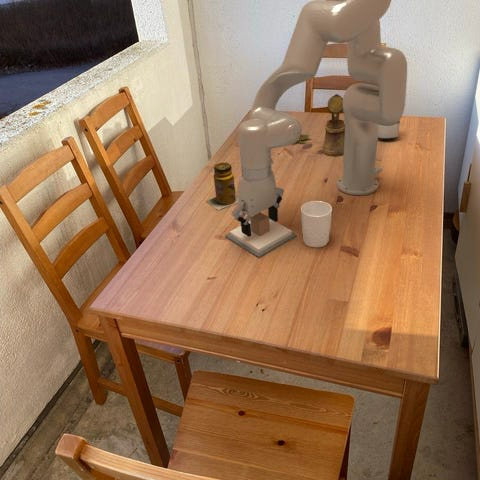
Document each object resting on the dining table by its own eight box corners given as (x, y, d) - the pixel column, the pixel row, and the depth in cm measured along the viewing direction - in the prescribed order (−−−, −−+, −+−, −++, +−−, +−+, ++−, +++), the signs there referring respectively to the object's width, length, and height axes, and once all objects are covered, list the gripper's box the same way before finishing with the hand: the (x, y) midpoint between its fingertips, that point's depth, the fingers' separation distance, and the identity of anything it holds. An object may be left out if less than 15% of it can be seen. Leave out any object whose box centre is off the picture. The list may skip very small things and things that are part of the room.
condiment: (241, 201, 146) (238, 166, 140) (218, 210, 143) (213, 175, 136) (228, 192, 152) (225, 158, 145) (206, 201, 148) (201, 166, 141)
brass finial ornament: (347, 141, 177) (349, 93, 167) (347, 156, 167) (350, 106, 156) (323, 141, 179) (324, 94, 169) (321, 156, 168) (322, 106, 158)
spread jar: (400, 142, 173) (403, 111, 166) (368, 144, 174) (371, 113, 167) (391, 130, 183) (395, 100, 176) (362, 131, 183) (364, 102, 177)
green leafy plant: (277, 145, 180) (276, 134, 177) (284, 133, 189) (283, 122, 187) (308, 147, 177) (308, 135, 174) (313, 135, 186) (314, 123, 183)
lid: (262, 218, 136) (261, 201, 133) (291, 234, 128) (291, 216, 125) (230, 235, 130) (228, 217, 127) (258, 253, 122) (257, 235, 119)
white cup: (333, 234, 128) (334, 202, 122) (327, 250, 122) (329, 218, 116) (304, 230, 130) (304, 199, 125) (298, 246, 124) (297, 214, 119)
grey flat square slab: (262, 217, 138) (262, 215, 137) (297, 236, 128) (297, 234, 128) (225, 237, 131) (224, 235, 130) (258, 258, 121) (258, 256, 121)
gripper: (271, 154, 125) (274, 210, 134) (220, 177, 116) (226, 234, 126) (291, 162, 120) (292, 219, 129) (239, 187, 111) (244, 246, 121)
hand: (260, 227), depth 128 cm, fingers open, 9 cm apart
